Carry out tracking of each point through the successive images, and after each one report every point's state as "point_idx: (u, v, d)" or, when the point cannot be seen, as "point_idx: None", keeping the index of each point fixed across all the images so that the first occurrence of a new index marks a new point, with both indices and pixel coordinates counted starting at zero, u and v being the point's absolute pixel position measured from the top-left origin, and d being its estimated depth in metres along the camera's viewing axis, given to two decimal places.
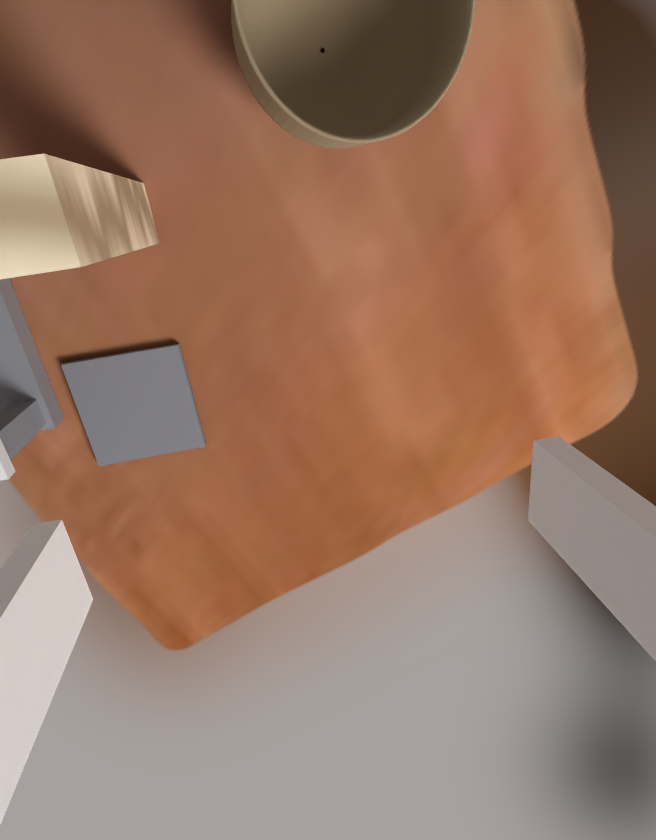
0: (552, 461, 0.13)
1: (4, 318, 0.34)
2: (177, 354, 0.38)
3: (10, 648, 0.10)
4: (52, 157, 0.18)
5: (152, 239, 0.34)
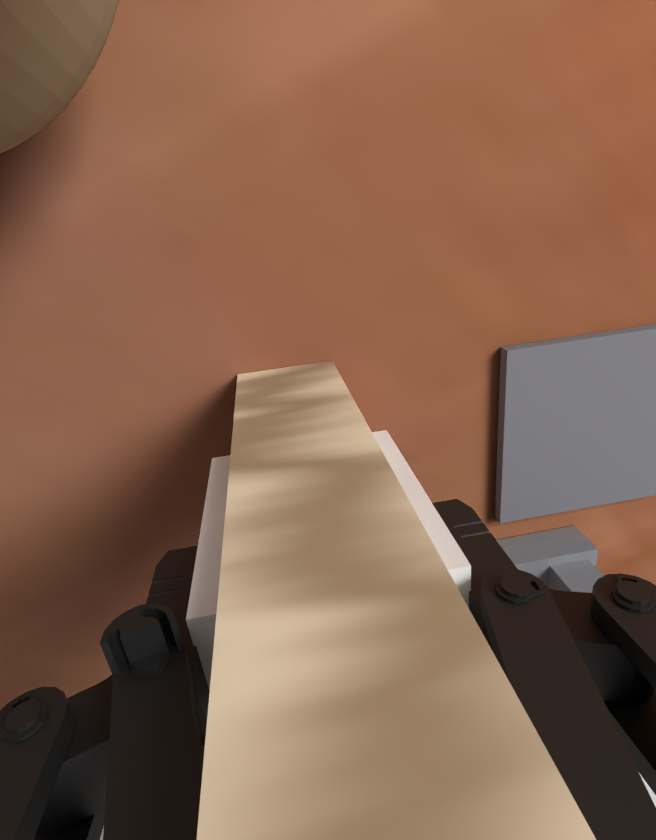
0: None
1: None
2: (522, 353, 0.21)
3: None
4: None
5: (331, 378, 0.19)
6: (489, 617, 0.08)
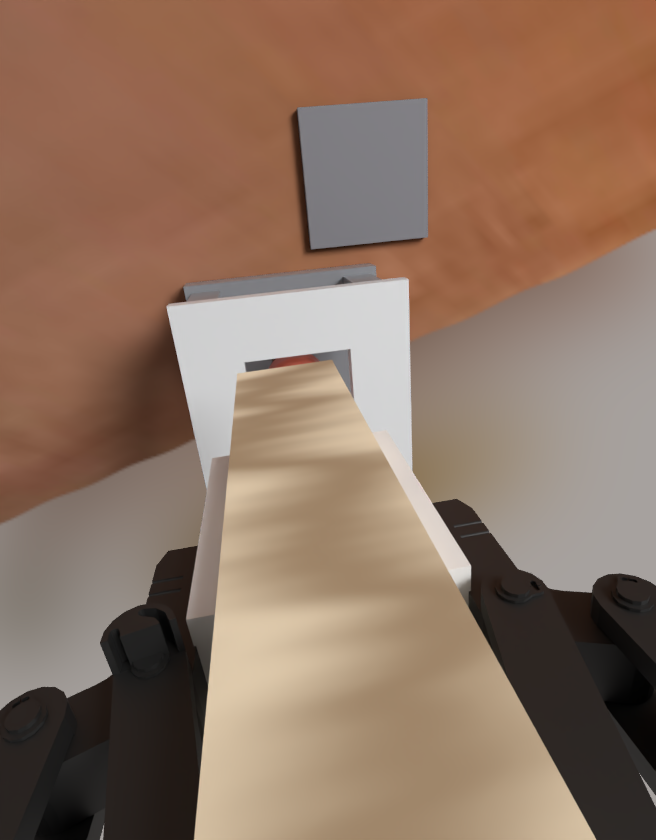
0: None
1: (258, 284, 0.35)
2: (308, 111, 0.33)
3: None
4: None
5: (331, 377, 0.19)
6: (489, 617, 0.08)
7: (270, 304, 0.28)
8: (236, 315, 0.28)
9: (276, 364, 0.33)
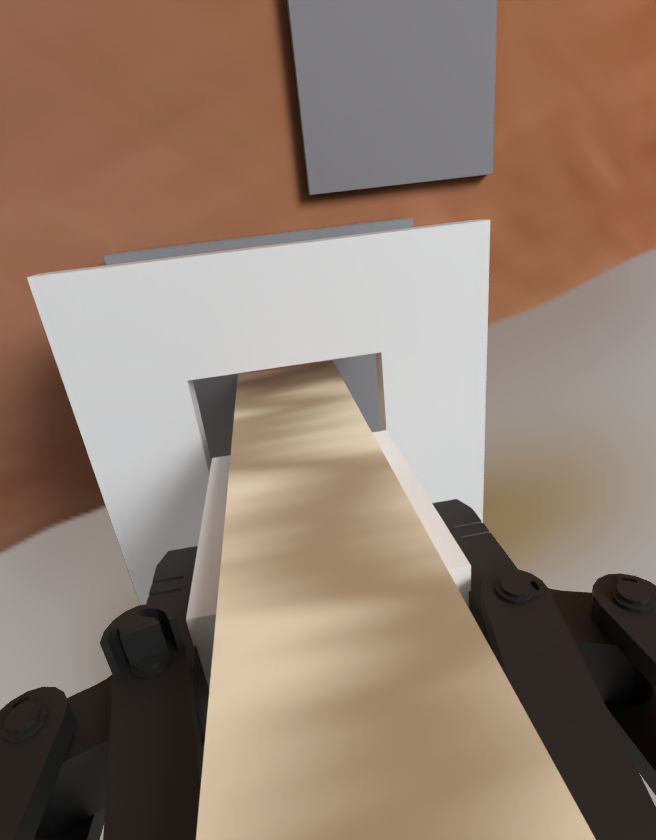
0: None
1: (226, 250, 0.22)
2: None
3: None
4: None
5: (332, 377, 0.19)
6: (489, 617, 0.08)
7: (230, 270, 0.15)
8: (166, 292, 0.15)
9: None
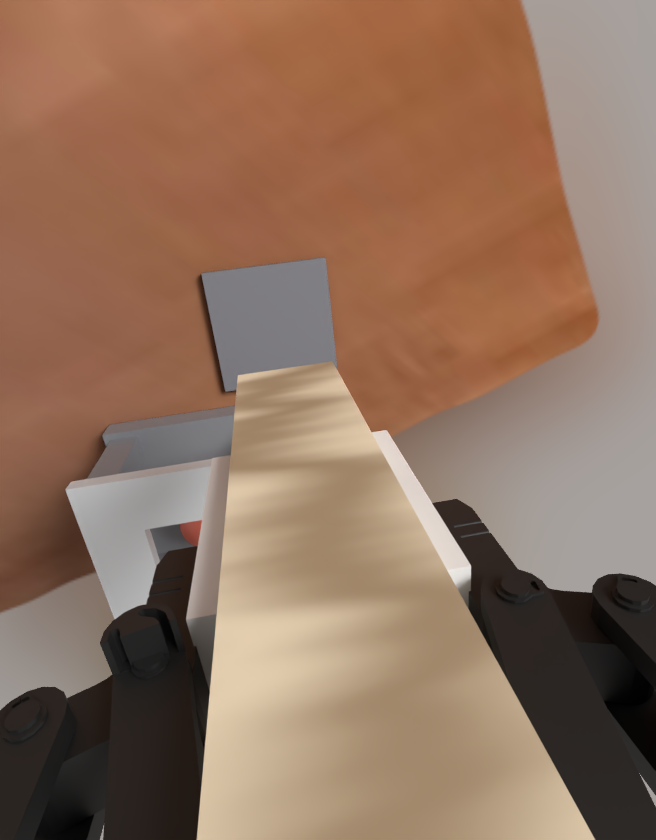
0: None
1: (174, 429, 0.37)
2: (211, 276, 0.35)
3: None
4: None
5: (331, 378, 0.19)
6: (489, 617, 0.08)
7: (163, 481, 0.30)
8: (132, 492, 0.30)
9: None
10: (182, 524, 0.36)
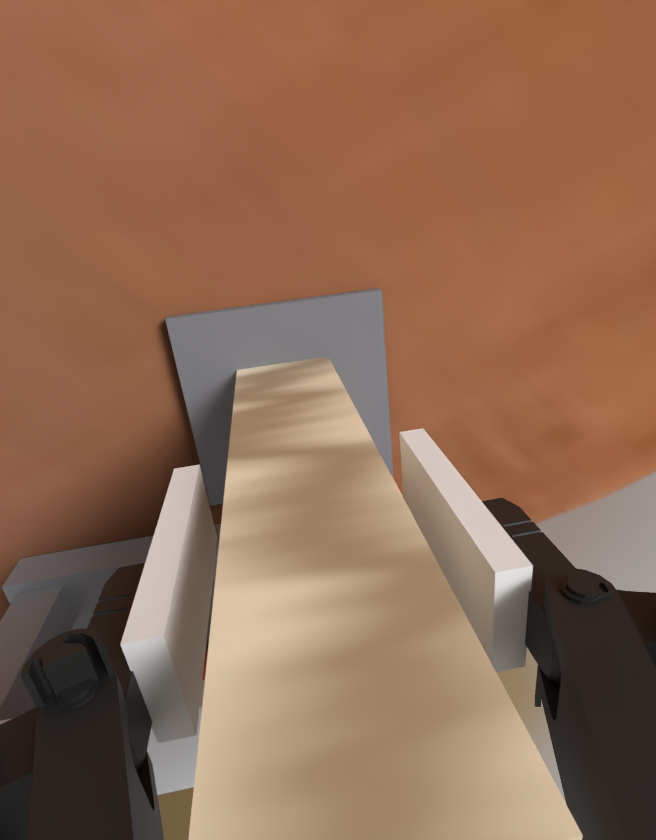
0: (409, 450, 0.14)
1: None
2: (183, 322, 0.20)
3: (191, 557, 0.12)
4: (193, 832, 0.05)
5: (327, 373, 0.19)
6: (553, 614, 0.08)
7: None
8: None
9: None
10: None
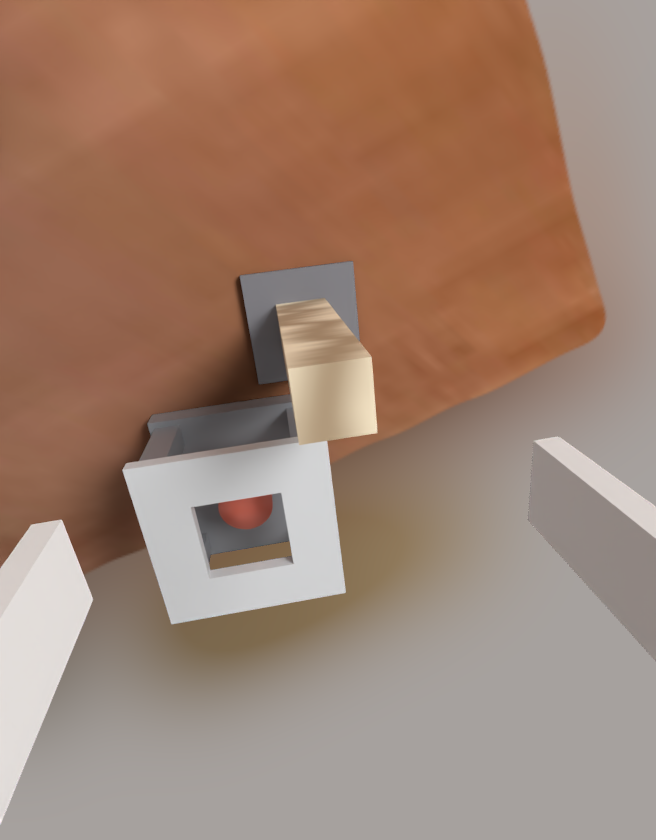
0: (552, 461, 0.13)
1: (212, 418, 0.41)
2: (249, 278, 0.38)
3: (10, 648, 0.10)
4: (287, 364, 0.23)
5: (323, 303, 0.37)
6: None
7: (209, 463, 0.34)
8: (181, 473, 0.34)
9: None
10: (220, 505, 0.40)
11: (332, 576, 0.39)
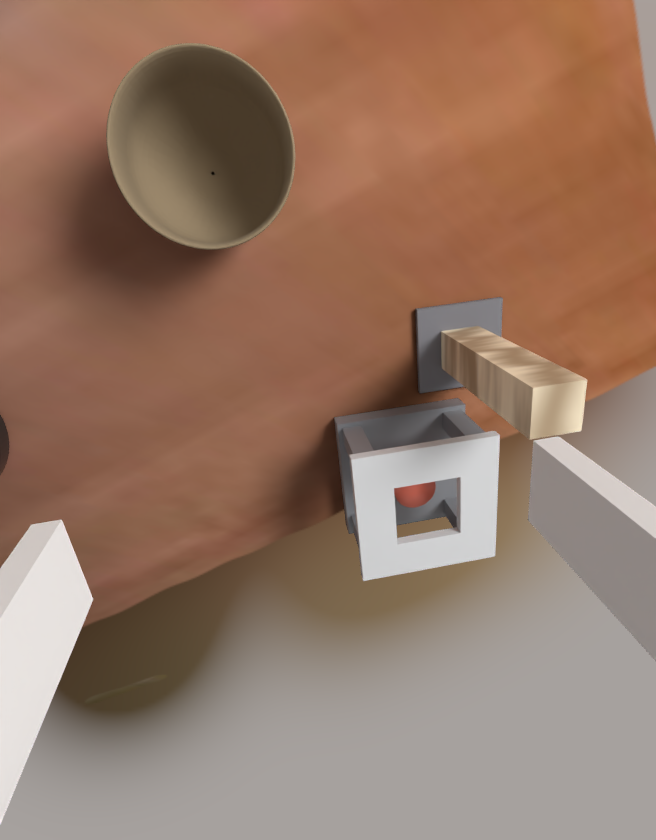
0: (552, 461, 0.13)
1: (386, 420, 0.52)
2: (424, 311, 0.49)
3: (10, 648, 0.10)
4: (527, 384, 0.34)
5: (484, 331, 0.48)
6: None
7: (413, 454, 0.44)
8: (392, 462, 0.44)
9: None
10: (396, 488, 0.51)
11: (487, 543, 0.50)
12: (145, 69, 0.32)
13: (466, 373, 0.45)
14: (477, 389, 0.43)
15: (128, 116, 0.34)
